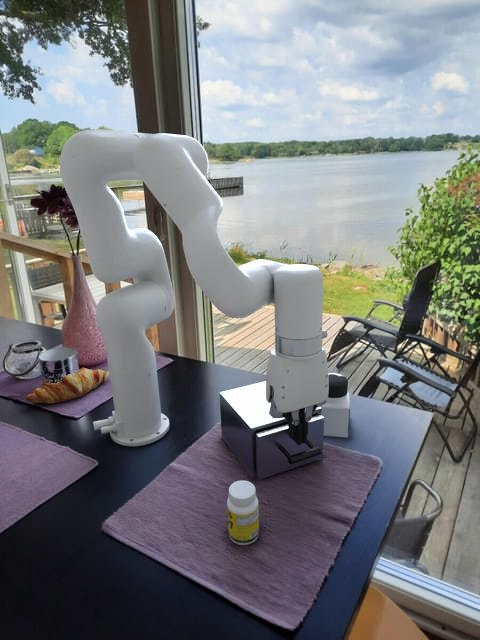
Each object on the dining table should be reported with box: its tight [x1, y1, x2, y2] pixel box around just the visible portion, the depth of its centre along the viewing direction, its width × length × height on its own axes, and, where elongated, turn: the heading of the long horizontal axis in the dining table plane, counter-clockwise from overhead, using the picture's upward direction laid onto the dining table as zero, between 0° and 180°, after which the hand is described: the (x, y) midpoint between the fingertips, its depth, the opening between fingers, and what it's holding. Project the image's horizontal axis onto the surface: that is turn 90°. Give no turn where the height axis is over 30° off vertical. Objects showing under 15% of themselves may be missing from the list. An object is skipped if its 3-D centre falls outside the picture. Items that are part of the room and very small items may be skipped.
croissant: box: [25, 366, 110, 405], centre depth 112 cm, size 21×10×8 cm, turn 134°
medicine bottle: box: [320, 372, 351, 439], centre depth 92 cm, size 7×7×12 cm
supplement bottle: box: [226, 479, 260, 546], centre depth 66 cm, size 5×5×8 cm
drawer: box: [255, 414, 325, 480], centre depth 83 cm, size 18×13×9 cm
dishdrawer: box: [219, 380, 322, 480], centre depth 87 cm, size 15×15×11 cm
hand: (298, 439), depth 77 cm, fingers closed
